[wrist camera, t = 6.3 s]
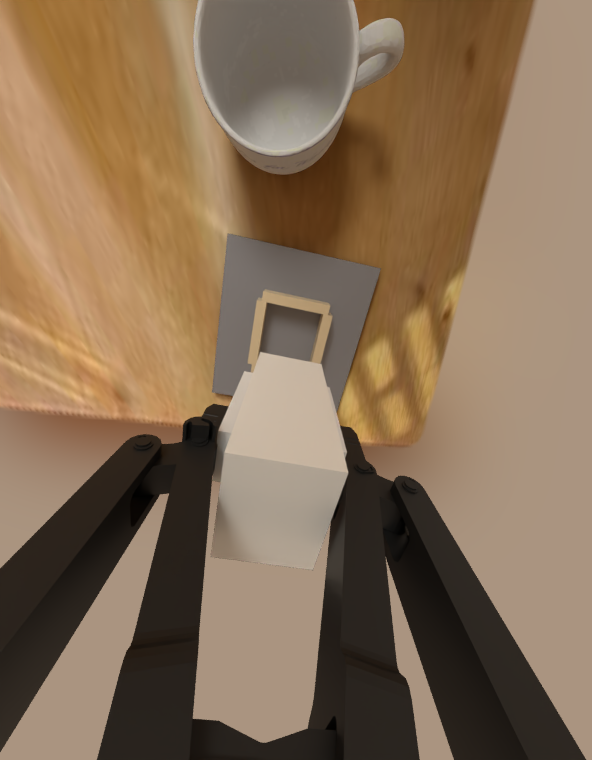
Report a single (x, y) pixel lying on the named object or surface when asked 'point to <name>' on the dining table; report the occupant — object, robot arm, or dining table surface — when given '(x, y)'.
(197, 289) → the dining table surface
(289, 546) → the plug
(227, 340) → the socket plate
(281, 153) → the teacup
